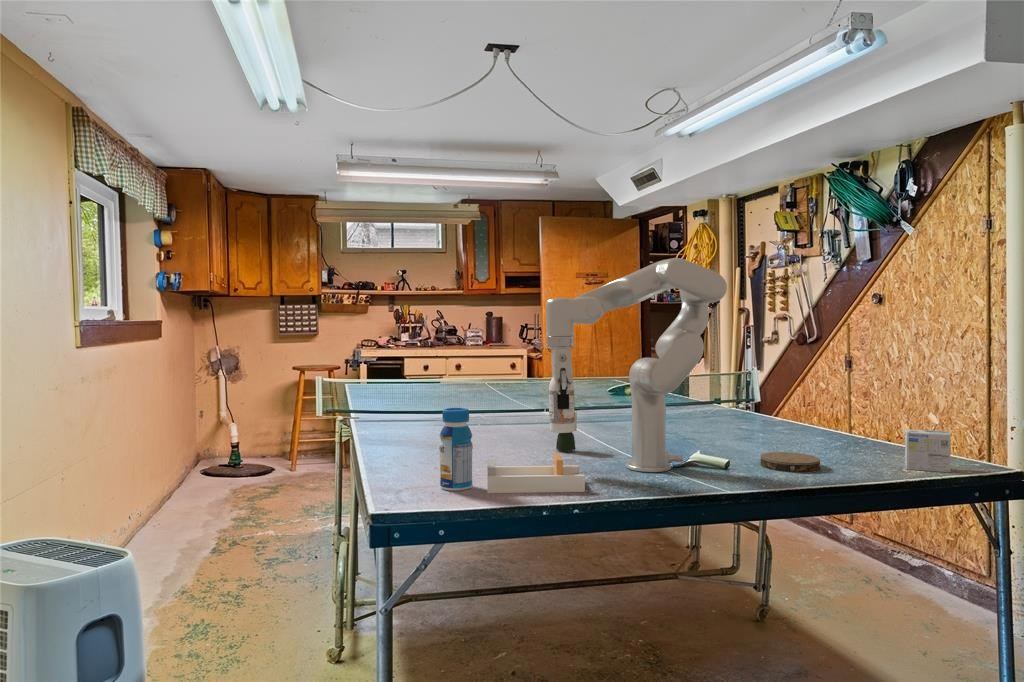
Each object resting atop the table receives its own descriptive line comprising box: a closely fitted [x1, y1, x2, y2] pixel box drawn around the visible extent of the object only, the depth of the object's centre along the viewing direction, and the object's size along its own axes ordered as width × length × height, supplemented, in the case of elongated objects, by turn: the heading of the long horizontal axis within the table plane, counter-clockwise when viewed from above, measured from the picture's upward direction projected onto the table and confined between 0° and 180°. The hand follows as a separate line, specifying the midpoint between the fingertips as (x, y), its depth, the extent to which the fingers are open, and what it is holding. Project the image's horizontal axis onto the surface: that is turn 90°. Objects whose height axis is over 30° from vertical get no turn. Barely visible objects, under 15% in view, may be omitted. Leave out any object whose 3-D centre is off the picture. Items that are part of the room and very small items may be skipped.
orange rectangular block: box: [552, 452, 564, 475], centre depth 169 cm, size 2×9×6 cm, turn 2°
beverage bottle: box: [438, 407, 474, 492], centre depth 168 cm, size 8×8×20 cm
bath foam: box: [548, 374, 575, 434], centre depth 183 cm, size 7×7×20 cm
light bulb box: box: [904, 428, 952, 473], centre depth 187 cm, size 11×7×11 cm, turn 65°
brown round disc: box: [760, 451, 821, 474], centre depth 191 cm, size 16×16×3 cm
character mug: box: [555, 410, 578, 453], centre depth 215 cm, size 11×7×13 cm, turn 11°
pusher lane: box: [486, 459, 586, 494], centre depth 169 cm, size 24×12×6 cm, turn 92°
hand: (561, 406), depth 183 cm, fingers closed on bath foam, 7 cm apart
